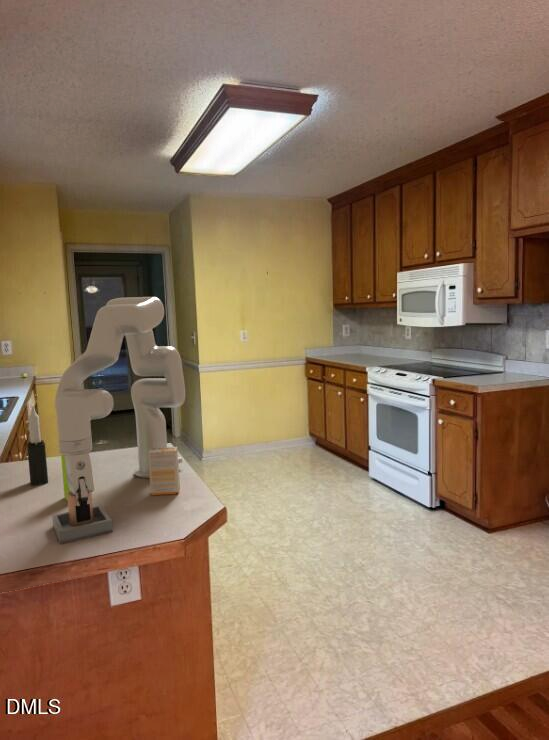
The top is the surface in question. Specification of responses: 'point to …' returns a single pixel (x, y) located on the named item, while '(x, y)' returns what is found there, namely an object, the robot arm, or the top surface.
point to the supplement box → (164, 470)
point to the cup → (73, 510)
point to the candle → (36, 452)
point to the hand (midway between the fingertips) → (81, 515)
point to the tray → (81, 526)
